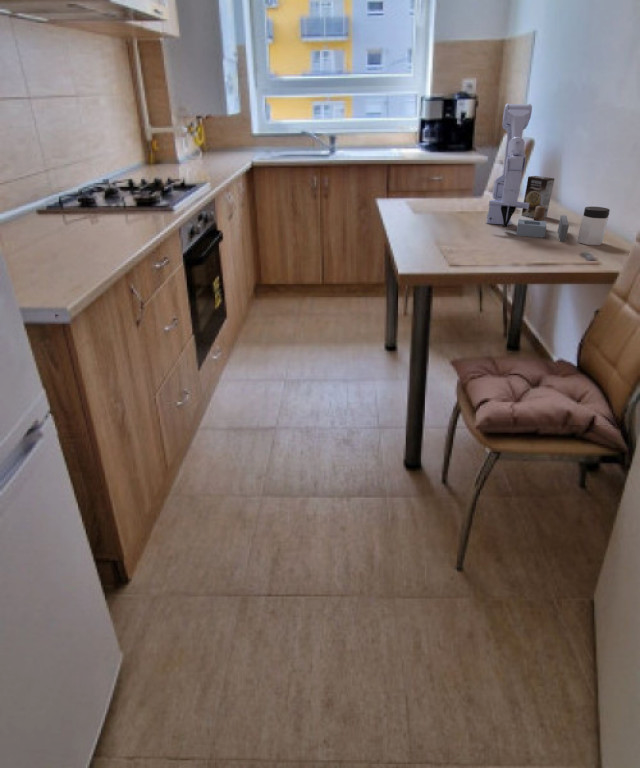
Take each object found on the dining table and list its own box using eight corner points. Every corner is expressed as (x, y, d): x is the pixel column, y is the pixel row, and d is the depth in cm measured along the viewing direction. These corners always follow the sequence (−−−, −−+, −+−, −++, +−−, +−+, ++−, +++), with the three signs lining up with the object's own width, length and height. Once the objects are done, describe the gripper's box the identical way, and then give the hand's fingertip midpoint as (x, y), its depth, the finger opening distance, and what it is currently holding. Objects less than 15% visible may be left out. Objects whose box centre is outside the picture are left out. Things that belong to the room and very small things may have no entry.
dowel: (532, 228, 228) (535, 207, 224) (532, 226, 231) (535, 205, 227) (541, 229, 227) (545, 208, 223) (541, 227, 230) (545, 206, 226)
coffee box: (520, 215, 251) (527, 176, 243) (528, 213, 254) (535, 175, 247) (539, 218, 245) (547, 179, 237) (547, 217, 248) (555, 177, 241)
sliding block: (516, 235, 217) (518, 224, 215) (516, 229, 225) (518, 219, 223) (544, 237, 214) (546, 226, 212) (543, 231, 222) (545, 221, 221)
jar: (607, 244, 206) (616, 209, 201) (591, 246, 203) (599, 211, 197) (587, 238, 213) (595, 205, 208) (571, 240, 210) (579, 207, 204)
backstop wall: (559, 241, 209) (562, 224, 206) (557, 230, 224) (560, 215, 222) (565, 241, 209) (568, 224, 206) (563, 231, 224) (566, 215, 221)
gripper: (490, 190, 214) (485, 227, 220) (531, 192, 210) (524, 230, 216) (491, 187, 219) (486, 223, 226) (531, 189, 216) (525, 226, 222)
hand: (505, 226), depth 221 cm, fingers closed
